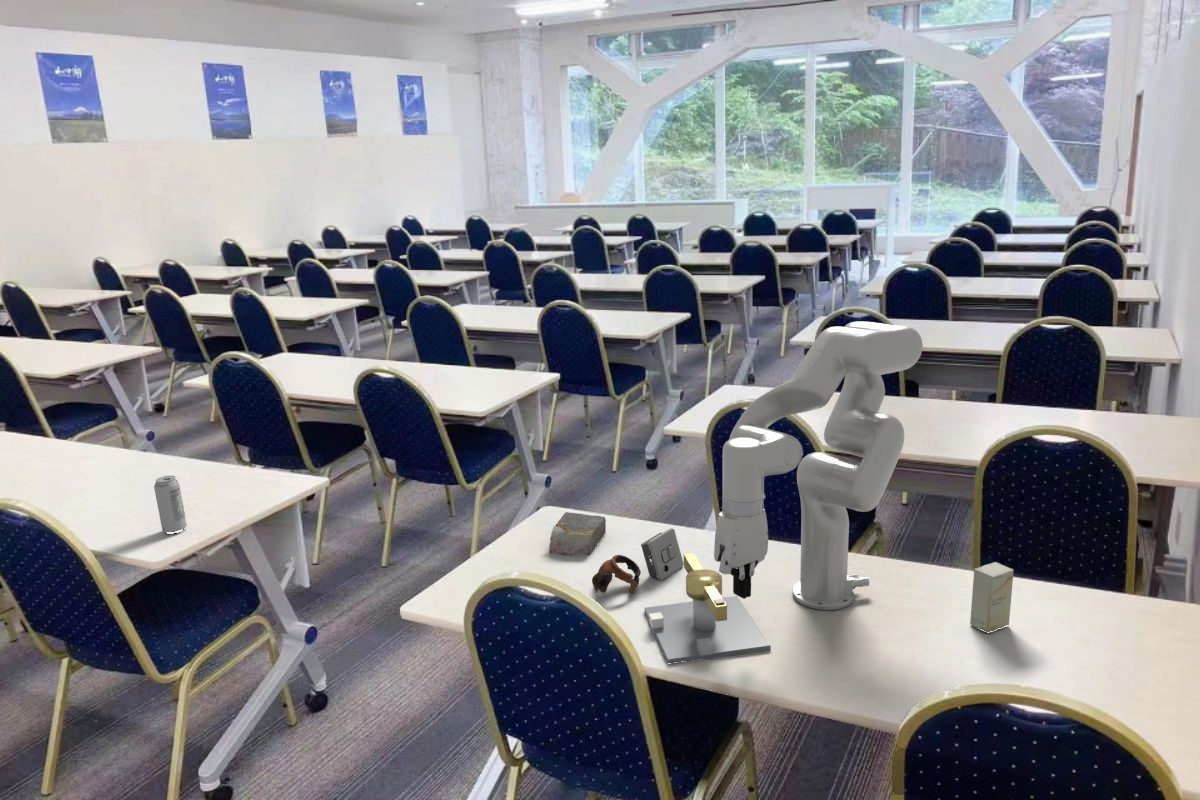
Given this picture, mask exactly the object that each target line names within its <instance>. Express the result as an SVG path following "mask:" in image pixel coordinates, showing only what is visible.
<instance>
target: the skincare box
mask: <svg viewBox="0 0 1200 800" xmlns="http://www.w3.org/2000/svg"><path fill="white" fill-rule="evenodd" d="M972 580H973V582H972V595H971V610H970V618H969V619H970V622H969V625H970V624H971V625H973V626H975V627H977V628H979V629H982V630H984V631H986V632H990V631H994V630H996V629H998V628H1002V627H1004V626H1006V625H1009V626H1010V616H1011V606H1012V605H1011V604H1012V593H1013V583H1014V582H1013V581H1014V568H1011V567H1008V566H1006V565H1003V564H1001V563H999V562H997V561H994V562H991V563H988V564H984V565H982V566H978V567H976V568H974V569H973V579H972ZM971 625H970V626H971ZM973 626H972V627H973ZM975 627H974V628H975ZM977 628H976V629H977ZM979 629H978V630H979Z"/></svg>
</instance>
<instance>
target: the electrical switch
mask: <svg viewBox="0 0 1200 800" xmlns="http://www.w3.org/2000/svg"><path fill="white" fill-rule="evenodd" d="M640 546H641V550H642V553H643V556H644V560H645V563H646V564H645V565H646V568H647V570H648V571H647V572H648V575H649V577H655V578H656V579H657V580H658V581H663V580H665V579H667V578H668V577H669V576H671V575H672V574H674V573H675V572H677V571H678V570H680V569H681V568H683V567H684V558H683V556H682V552H681V549H680V545H679V542H678V538H677V534H676V530H675V529H674V528H670V527H669V528H667V529H666V530H664V531H663V532H659V533H656V535H654V536H652V537H651V538H649V539H648V540H645V541H644V542H642V543H641V544H640Z"/></svg>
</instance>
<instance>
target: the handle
mask: <svg viewBox="0 0 1200 800" xmlns="http://www.w3.org/2000/svg"><path fill="white" fill-rule="evenodd" d="M683 568H684V570H685V571H686V573H687V574H686V576H685V590H686V591H685V593H686V595H687V597H688V598H690V599H691V600H693V599H694V600H698V601H705V603H706V605H707V606H708V608H709V610H710V611H711V613H712V615H713V616H714V618H715V620H716V621H717V622H718V621H725V620H727V605H726V603H725V602H724V600H723V599H722V598H723V597H722V595H723V577H722V574H720V572H719V571H718V572H717V571H716V570H712V569H705V568H704V567H703V566H702V564H701V563H700V561H699V560H698V558H697V557H696V555H695V553H694V552H689V553H683Z"/></svg>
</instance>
